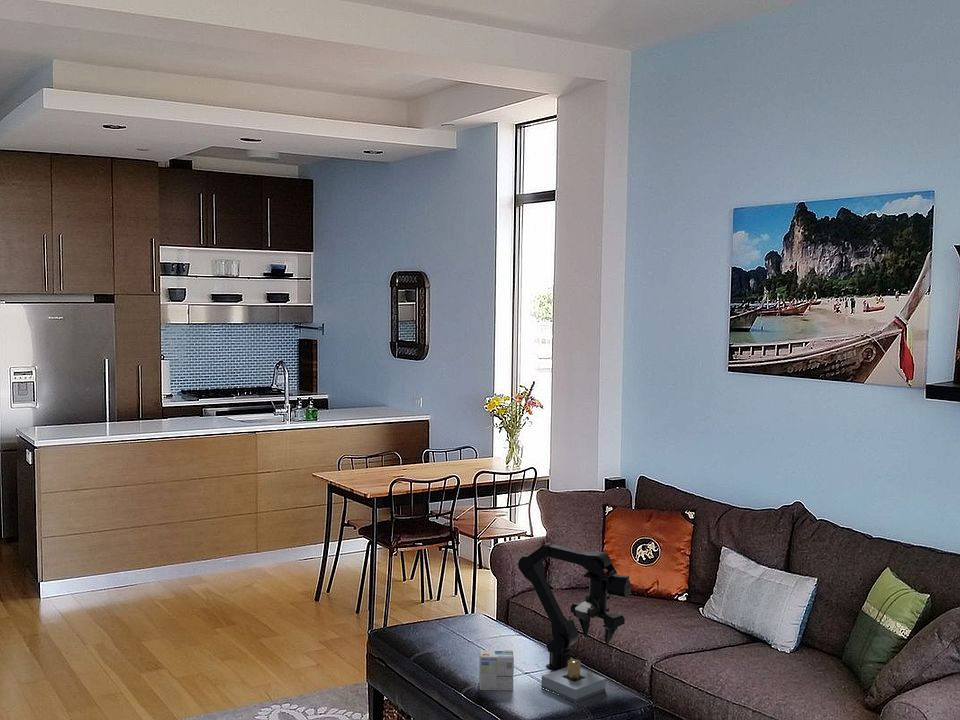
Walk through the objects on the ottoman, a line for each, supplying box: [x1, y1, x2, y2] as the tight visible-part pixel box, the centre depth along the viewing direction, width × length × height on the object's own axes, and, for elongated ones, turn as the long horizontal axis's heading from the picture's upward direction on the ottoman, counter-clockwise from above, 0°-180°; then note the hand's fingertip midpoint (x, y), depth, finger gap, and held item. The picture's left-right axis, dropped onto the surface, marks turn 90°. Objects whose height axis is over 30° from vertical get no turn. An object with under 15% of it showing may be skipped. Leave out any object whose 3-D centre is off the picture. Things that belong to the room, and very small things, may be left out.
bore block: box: [541, 667, 607, 703], centre depth 320 cm, size 14×14×4 cm
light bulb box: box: [478, 649, 515, 691], centre depth 321 cm, size 11×7×11 cm, turn 92°
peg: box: [567, 658, 582, 682], centre depth 320 cm, size 4×4×8 cm
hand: (596, 640), depth 331 cm, fingers open, 9 cm apart
